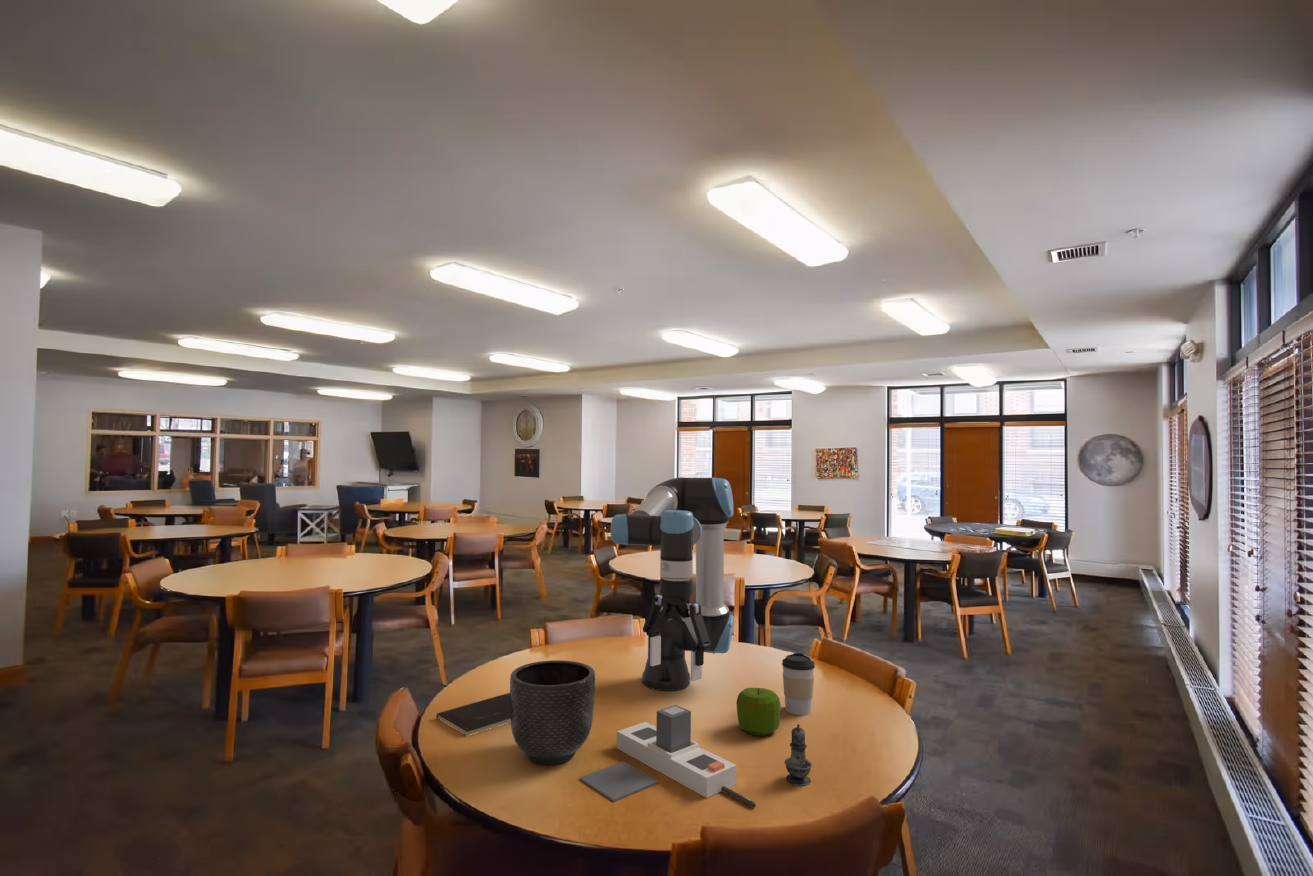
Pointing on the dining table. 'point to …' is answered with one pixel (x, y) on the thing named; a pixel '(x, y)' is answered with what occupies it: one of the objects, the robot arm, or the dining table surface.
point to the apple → (758, 711)
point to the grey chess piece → (798, 760)
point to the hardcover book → (478, 715)
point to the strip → (681, 762)
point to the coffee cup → (798, 683)
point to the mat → (618, 781)
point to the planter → (551, 709)
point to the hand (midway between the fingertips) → (674, 672)
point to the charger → (673, 728)
